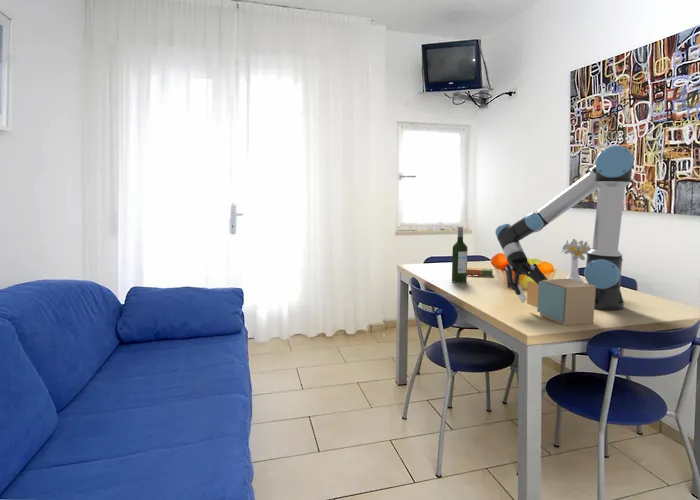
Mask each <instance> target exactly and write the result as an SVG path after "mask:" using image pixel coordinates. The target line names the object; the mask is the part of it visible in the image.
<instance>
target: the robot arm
mask: <svg viewBox="0 0 700 500" xmlns="http://www.w3.org/2000/svg"><path fill="white" fill-rule="evenodd" d="M633 166H634V156H633V154H632V152H631V150H629V148H627V147H625V146H622V145H612V146H611V145H610V146H608V147H605V148H603V150H601V151H600V152H599V153H598V155H597V157H596V158H595V162H594V165H593V166H592V167H590V168H589V172H588V173H586V174H585V175H584V176H583V177H581V178H580V179H578V180H577V181H576V182H575V183H572V185H570V186H569V187H567V188H566V189H565V190H564V191H562V192H561V193H559V194H558V195H556V196H555V197H554V198H553V199H552V200H550V201H548V202H547V203H546V204H544V205H543V206H542V207H541V208H539V209H538V210H536V211H532V212H530V213H528V214H526V215H525V216H524V217H522V218H521V219H519V220H518V221H516V222H514V223H513V224H510V223H503V224H501V225H498V226H497V227H496V229H495V235H496V239H497V241H498V242H499V246H500V247H501V249H502V252H503V254H504V256H505V258H506V260H507V263H508V264H506V266H505V267H504V271H505V275H506V282H507V288H511V290H513V291H514V292H515V294H516V295H517V296H518V298H519V300H520V303H521V304H524V303H525V302H526V301H527V296H526V295H525V293H524V291H523V289H522V286H521V285H519V279H520V276H522V275H524V276H527V277H528V278H530V279H531V280H533V282H534V283H536V284H539V281H542V280H549V279H548V278H547V277H546V275H544V273H543V272H542V271H541V269H539V267H538V264H537V263H534V264H530V263H529V261H528V257H527V255H526V253H525V250H524V249H523V247H522V245H521V243H520V241H521V240H523V239H525V238H526V237H528V236H529V235H531V234H534V233H538V232H540V231H542V230H543V229H544V228H545V227H546V226H547V225H549V224H550V223H551V222H553V221H554V220H556V219H557V218H559V217H560V216H562V215H564V213H566V212H568V211H569V210H570V209H571V208H573V207H575V206H576V205H577V204H579V203H580V202H581V201H583V200H584V199H585V198H588V196H589V197H590V195H591V194H593V193H594V192H596V191H598V192H597V193H598V194H597V200H596V212H595V218H594V219H595V220H594V228H593V229H594V231H593V241H592V248H591V250H589V251H588V253H587V255H586V263H585V265H586V266H585V268H584V270H583V275H584V278H585V280H586V283H587V284H591V285H595V286H596V291H595V306H594V309H597V310H603V311H604V310H606V311H607V310H608V311H620V310H623V309H624V307H625V302H624V298H623V294H622V292H621V280H622V279H621V278H622V267H623V266H622V265H623V261H624V260H623V254H622V252H620V251H619V244H620V235H621V227H622V217H623V210H624V209H623V208H624V200H625V193H626V192H625V189H626V187H627V186H628V185H629V184H631V181H632V179H631V178H632V170H633ZM513 272H514V275H513Z"/></svg>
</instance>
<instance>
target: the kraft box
mask: <svg viewBox="0 0 700 500" xmlns="http://www.w3.org/2000/svg"><path fill="white" fill-rule="evenodd" d="M542 282H545V283H548V284H551V285H555V286H558V287H561V288H564V289H565V303H564V320H563V322H561V321H559V320H556V319H554V318H552V317H549V316H547V315H545V314H542V313H540V312H539V316H541V317H543V318H546V319H548V320H551V321H553V322H555V323H557V324H560V325H562V326H573V325H575V326H576V325H591V324H594V319H595V318H594V317H595V308H594V306H595V291H596V286H595V285H591V284H588V282H584V283H583V282H580V281H576V280H572V279H565V278H555V279H554V278H553V279H552V278H551V279H548V280H542Z"/></svg>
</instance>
